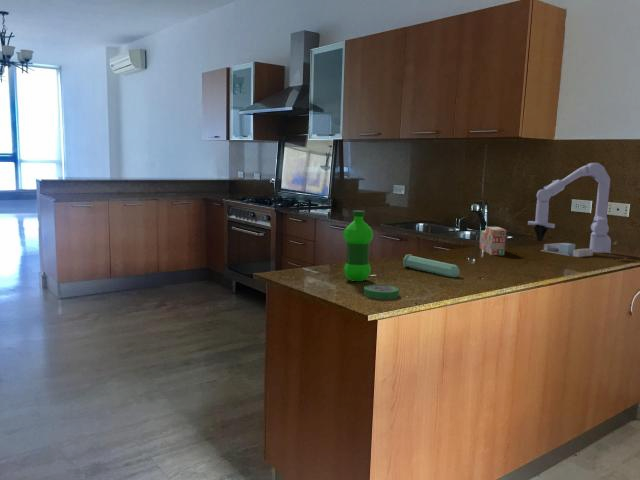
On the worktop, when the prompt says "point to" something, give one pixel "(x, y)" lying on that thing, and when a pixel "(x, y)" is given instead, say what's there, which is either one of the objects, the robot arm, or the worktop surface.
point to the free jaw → (551, 247)
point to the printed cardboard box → (493, 240)
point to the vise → (575, 252)
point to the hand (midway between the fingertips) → (539, 240)
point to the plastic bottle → (357, 248)
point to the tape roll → (381, 291)
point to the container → (431, 266)
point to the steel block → (566, 248)
